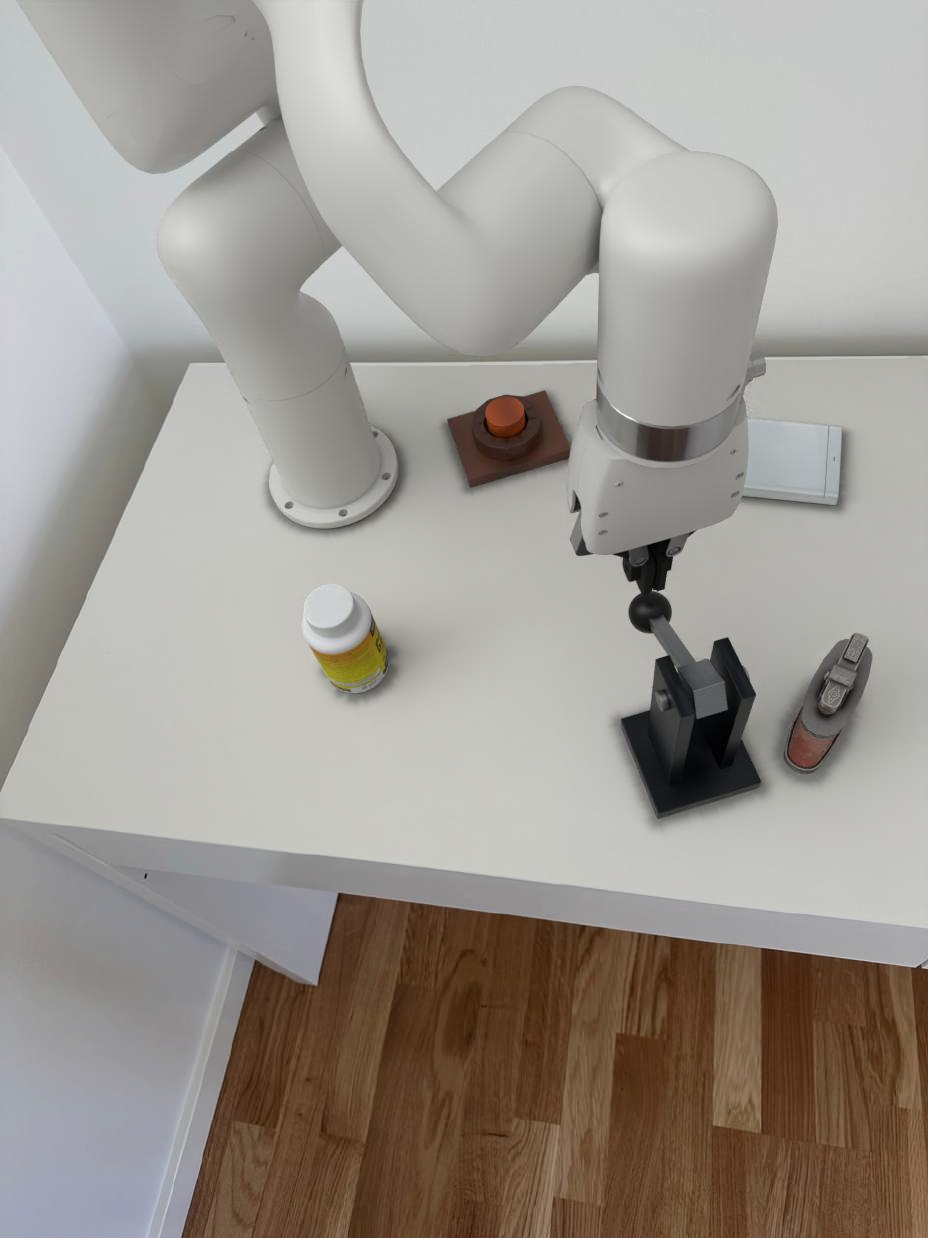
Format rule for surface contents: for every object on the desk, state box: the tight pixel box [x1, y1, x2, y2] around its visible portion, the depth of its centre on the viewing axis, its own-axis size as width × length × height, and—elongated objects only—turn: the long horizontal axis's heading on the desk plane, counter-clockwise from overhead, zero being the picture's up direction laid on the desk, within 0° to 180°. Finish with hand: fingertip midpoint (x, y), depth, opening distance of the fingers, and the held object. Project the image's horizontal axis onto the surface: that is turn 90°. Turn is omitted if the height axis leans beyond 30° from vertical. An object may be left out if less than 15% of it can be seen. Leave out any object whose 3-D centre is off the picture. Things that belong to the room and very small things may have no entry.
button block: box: [446, 389, 571, 488], centre depth 87 cm, size 10×8×3 cm
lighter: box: [783, 632, 873, 775], centre depth 66 cm, size 8×3×10 cm, turn 148°
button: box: [485, 397, 525, 438], centre depth 85 cm, size 4×4×2 cm
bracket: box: [620, 636, 762, 820], centre depth 64 cm, size 8×8×14 cm
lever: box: [627, 590, 728, 719], centre depth 64 cm, size 13×3×3 cm, turn 15°
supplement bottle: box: [300, 583, 390, 694], centre depth 74 cm, size 6×6×10 cm
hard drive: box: [742, 417, 843, 506], centre depth 82 cm, size 2×8×12 cm
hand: (645, 575), depth 65 cm, fingers closed
